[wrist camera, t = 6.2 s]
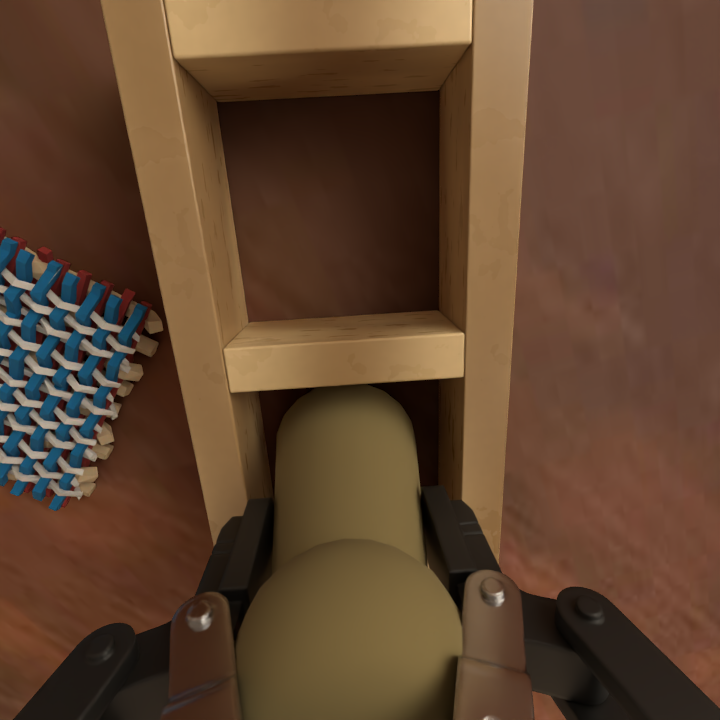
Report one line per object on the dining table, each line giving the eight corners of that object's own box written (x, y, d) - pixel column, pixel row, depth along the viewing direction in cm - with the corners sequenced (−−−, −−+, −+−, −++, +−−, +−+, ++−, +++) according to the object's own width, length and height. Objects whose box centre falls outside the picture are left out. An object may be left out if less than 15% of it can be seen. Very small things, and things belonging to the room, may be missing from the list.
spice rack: (248, 541, 20) (226, 612, 17) (163, 52, 14) (95, -13, 10) (469, 525, 21) (497, 591, 17) (484, 36, 14) (536, -34, 10)
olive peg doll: (413, 375, 17) (535, 622, 6) (418, 498, 19) (518, 845, 8) (265, 388, 17) (140, 665, 6) (286, 511, 18) (217, 881, 8)
